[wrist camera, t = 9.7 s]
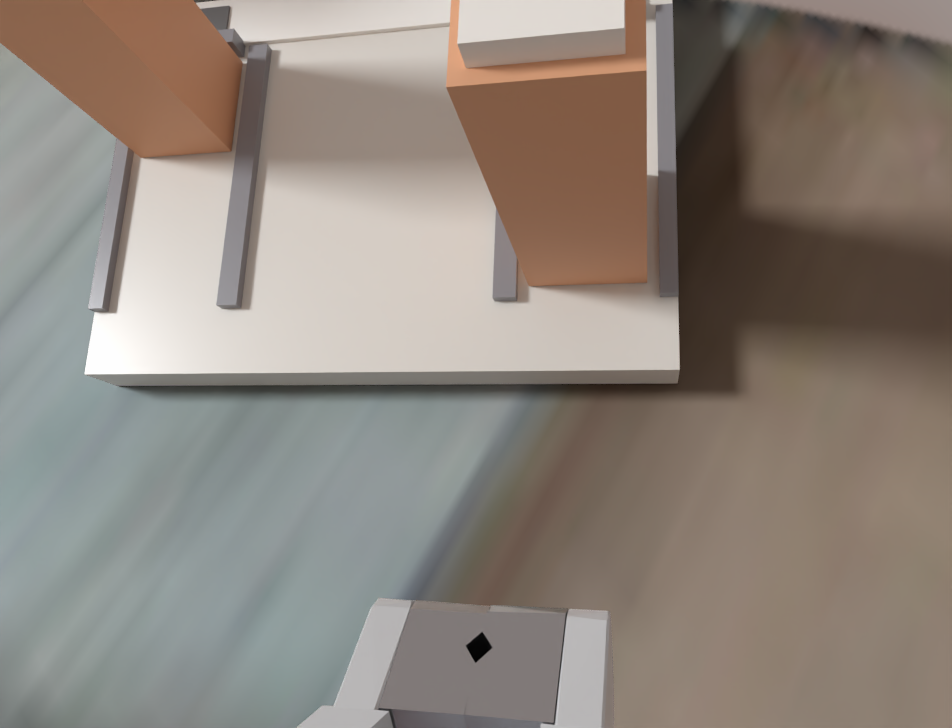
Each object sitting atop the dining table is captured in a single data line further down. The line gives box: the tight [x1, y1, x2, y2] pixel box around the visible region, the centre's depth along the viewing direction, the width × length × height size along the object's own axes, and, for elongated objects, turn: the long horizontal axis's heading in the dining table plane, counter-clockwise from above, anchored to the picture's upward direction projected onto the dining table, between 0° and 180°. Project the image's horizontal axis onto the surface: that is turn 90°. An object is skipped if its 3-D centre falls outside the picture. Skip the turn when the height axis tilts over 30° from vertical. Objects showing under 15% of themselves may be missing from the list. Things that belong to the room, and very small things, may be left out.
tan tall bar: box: [0, 0, 243, 158], centre depth 27 cm, size 4×4×13 cm
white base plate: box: [85, 0, 680, 386], centre depth 31 cm, size 22×16×3 cm
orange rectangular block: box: [446, 0, 647, 286], centre depth 22 cm, size 4×4×13 cm
